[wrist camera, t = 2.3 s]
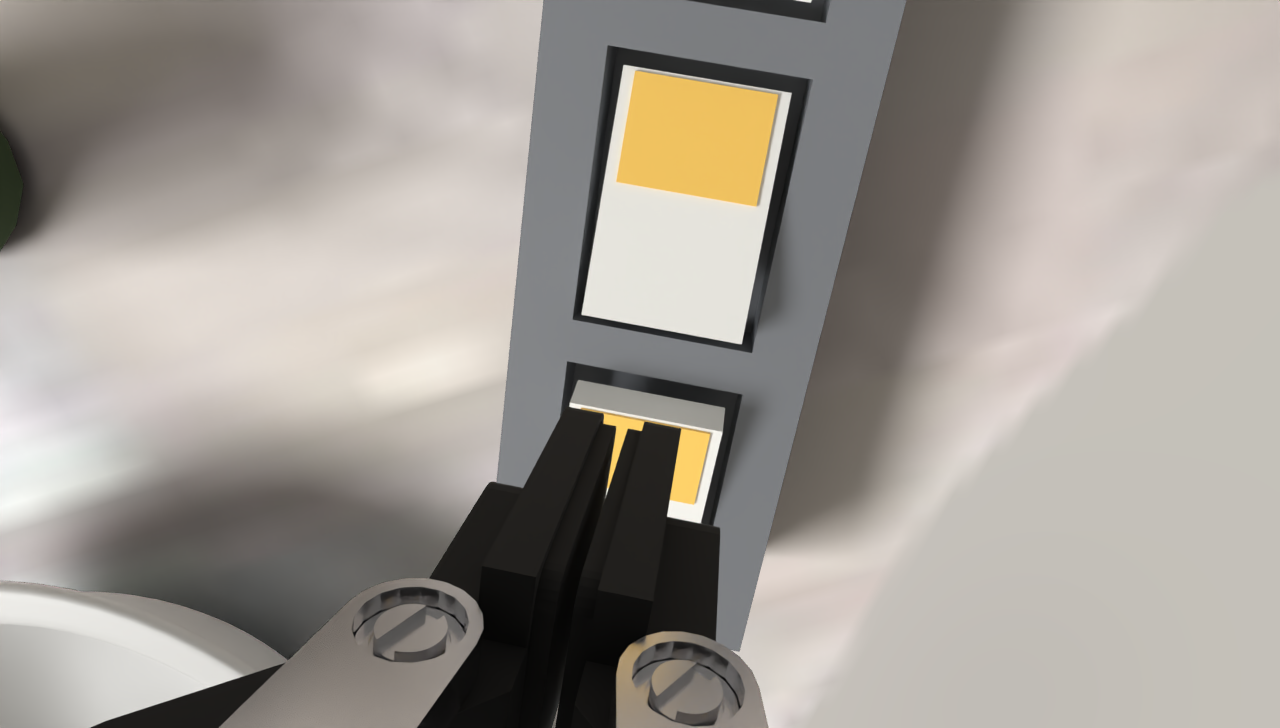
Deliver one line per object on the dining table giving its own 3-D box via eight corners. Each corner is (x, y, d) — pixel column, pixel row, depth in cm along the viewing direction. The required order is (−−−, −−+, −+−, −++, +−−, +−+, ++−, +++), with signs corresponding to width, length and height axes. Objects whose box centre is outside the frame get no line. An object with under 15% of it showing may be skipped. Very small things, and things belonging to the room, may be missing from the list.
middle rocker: (627, 74, 20) (623, 64, 19) (787, 101, 19) (792, 92, 18) (587, 311, 20) (581, 314, 19) (739, 340, 20) (741, 344, 19)
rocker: (578, 379, 21) (569, 403, 20) (725, 408, 21) (722, 433, 20) (564, 530, 25) (556, 556, 24) (690, 555, 25) (686, 583, 24)
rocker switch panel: (666, -705, 17) (639, -983, 13) (1035, -662, 17) (1146, -935, 12) (526, 512, 29) (485, 599, 25) (739, 555, 29) (739, 651, 24)
